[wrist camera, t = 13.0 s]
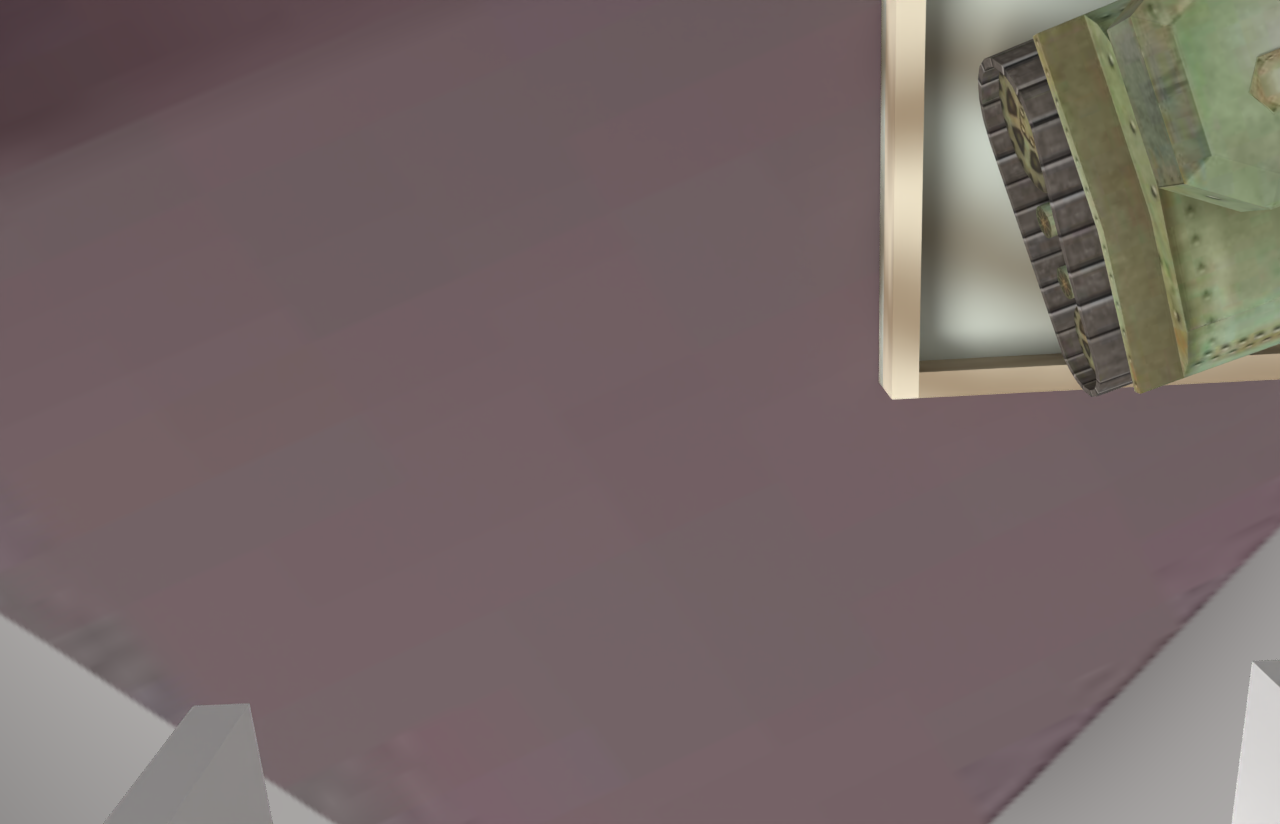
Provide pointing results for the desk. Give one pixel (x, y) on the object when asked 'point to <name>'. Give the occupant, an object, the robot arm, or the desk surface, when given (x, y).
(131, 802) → the robot arm
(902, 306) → the beige tray
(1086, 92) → the toy
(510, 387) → the desk surface
